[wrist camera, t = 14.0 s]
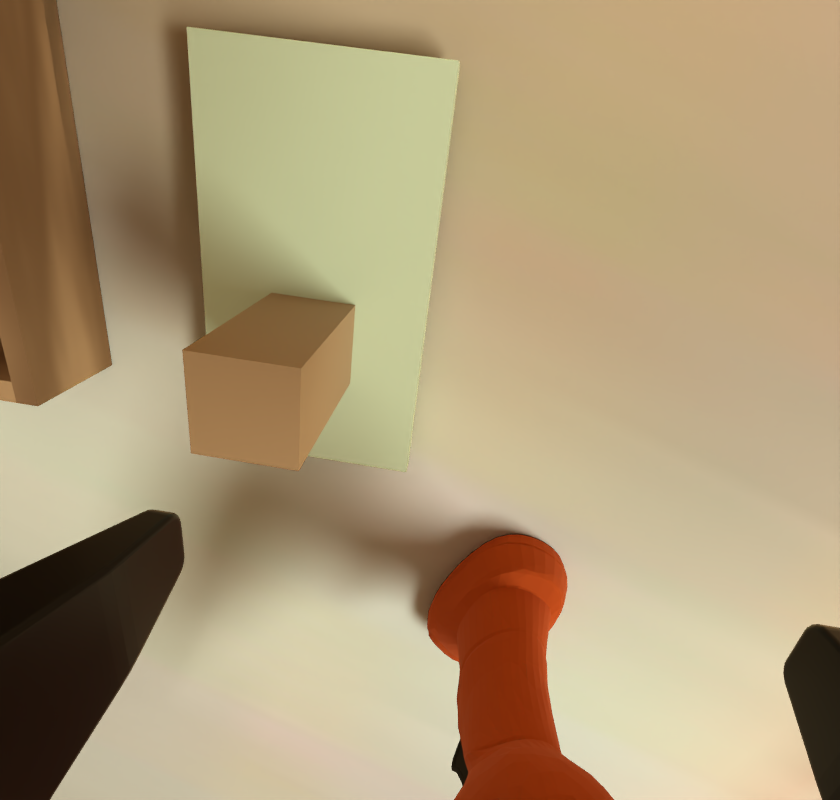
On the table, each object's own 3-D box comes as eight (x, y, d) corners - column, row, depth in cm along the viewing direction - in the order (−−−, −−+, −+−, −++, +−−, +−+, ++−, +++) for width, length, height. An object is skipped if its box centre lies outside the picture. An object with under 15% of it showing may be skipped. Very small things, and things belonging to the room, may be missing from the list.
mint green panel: (229, 422, 23) (119, 538, 16) (212, 37, 17) (21, -46, 10) (411, 451, 22) (379, 583, 15) (461, 69, 16) (445, 5, 9)
